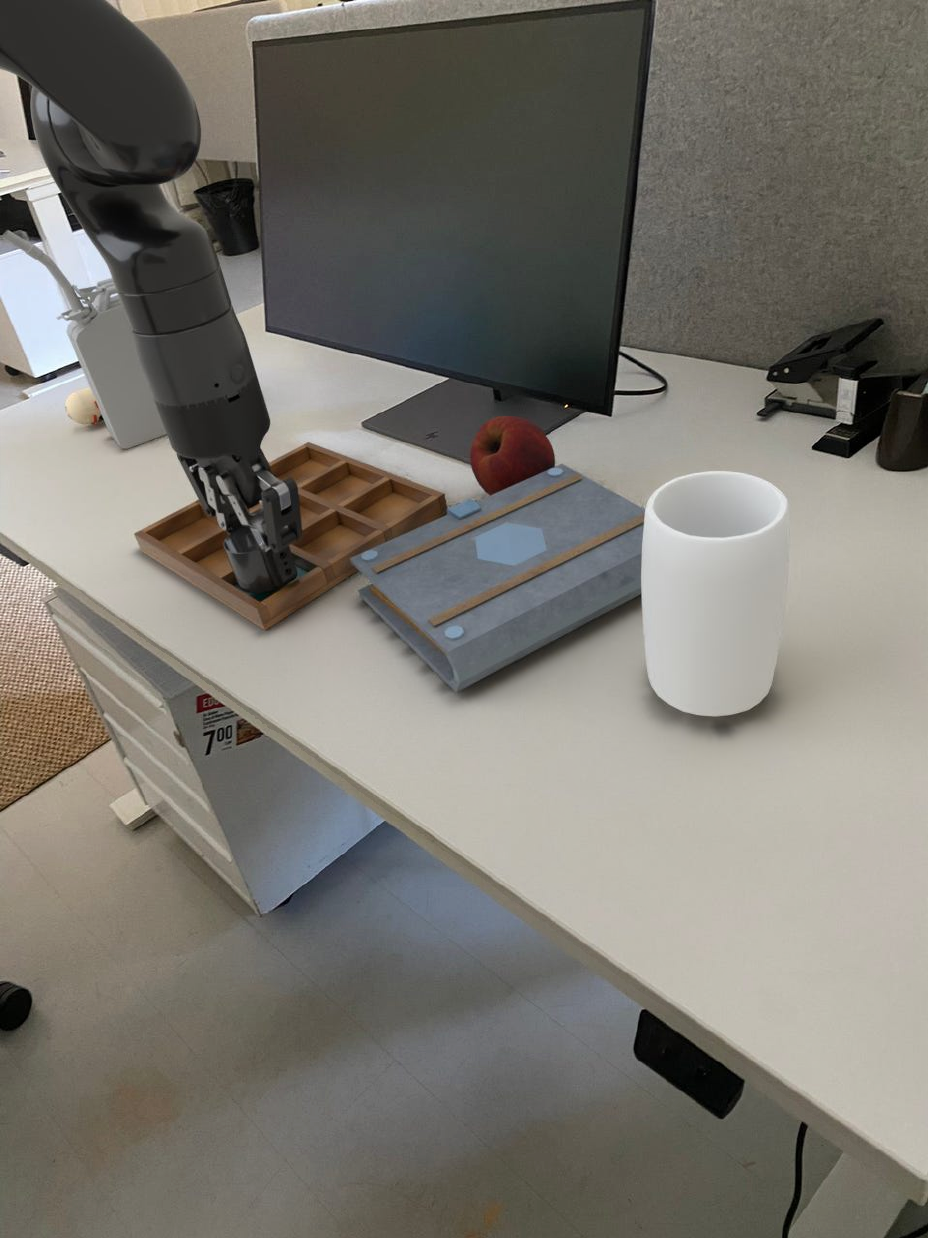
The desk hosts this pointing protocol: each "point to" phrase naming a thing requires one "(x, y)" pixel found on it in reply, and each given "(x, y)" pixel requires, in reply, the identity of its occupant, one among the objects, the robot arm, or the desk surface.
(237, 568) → the dark grey cylinder
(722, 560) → the cup
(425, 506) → the board
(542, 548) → the book
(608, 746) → the desk surface
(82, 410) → the toy figurine
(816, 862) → the desk surface
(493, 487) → the apple
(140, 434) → the fuel canister
